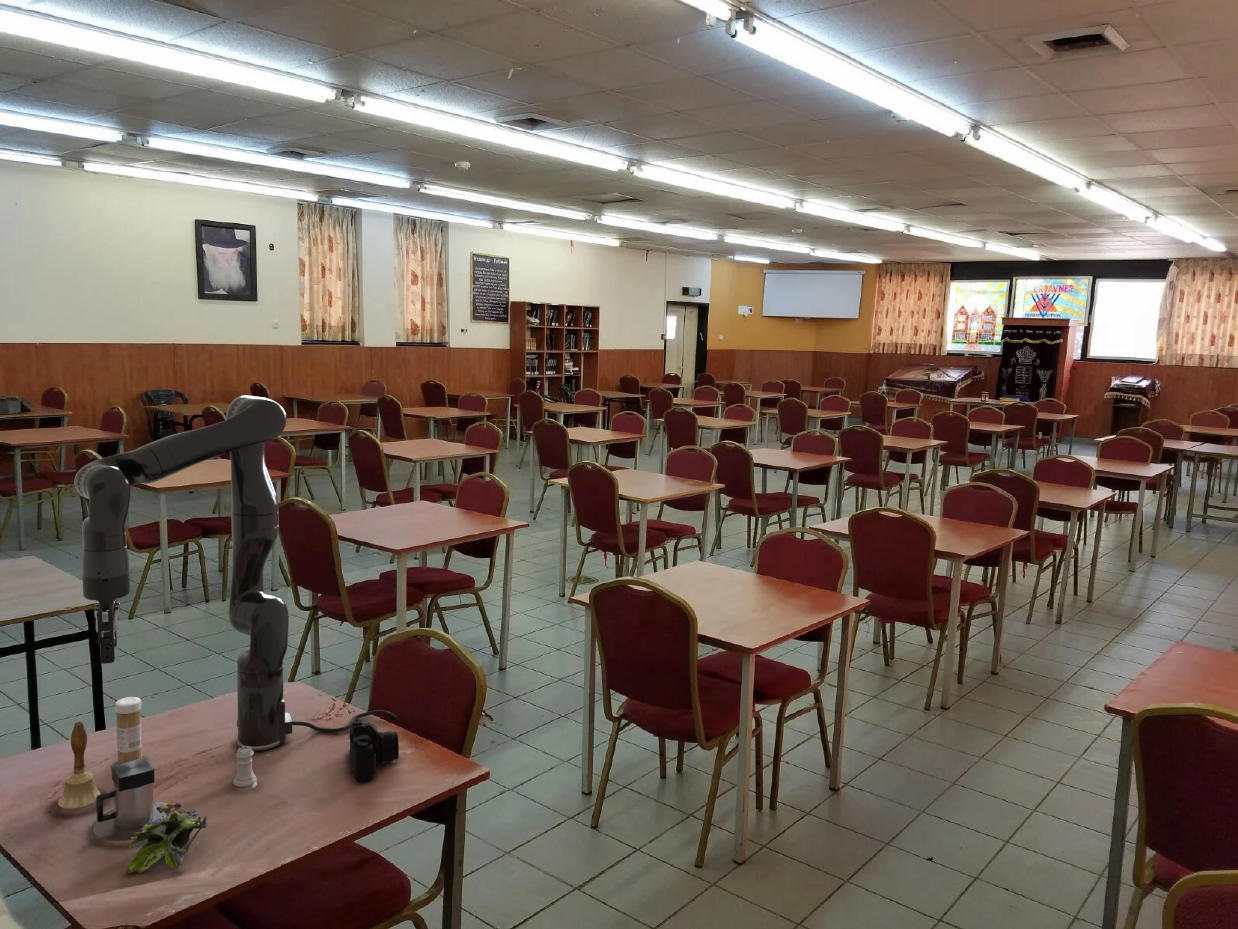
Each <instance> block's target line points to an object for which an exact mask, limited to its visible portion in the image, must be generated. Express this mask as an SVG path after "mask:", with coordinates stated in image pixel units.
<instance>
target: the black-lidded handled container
mask: <svg viewBox="0 0 1238 929" xmlns="http://www.w3.org/2000/svg"><path fill="white" fill-rule="evenodd" d="M111 780H112V781H113V783H112V785H113V786H112V791H108V792H105V793H101V795H98V796H97V797H96V801H95V802H96V820H97V821H98V822H103V821H106V820H110V819H113V818H114V825H115V826H116V827H117V828H119V829H125V830H128V829H135V828H139V827H142V826H144V825H146V824H147V823H148V822H149V821H151V820H153V819H152V818H154V803H153V802H154V783H155V782H156V781H155V768H154V767H153V766H152V764H151V763H150V761H149V759H148V758H147V757H142V759H138V760H134V761H130V762H126V763H122V764H118V763H117V764H114V765H111ZM112 798H113V809H114V812H113V813H110V814H106V815H103V814H104V800H107V799H112Z"/></svg>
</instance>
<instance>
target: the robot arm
mask: <svg viewBox="0 0 1238 929" xmlns="http://www.w3.org/2000/svg"><path fill="white" fill-rule="evenodd" d="M286 426H287V414H286V412H285V409H284V408H283V407H282V406H281V404H280V403H278V402H277V401H276V400H275V401H274V400H272V399H269V398H267V397H262V396H261V397H260V396H254V395H240V396H238V397H236V398H235V399H233V400H232V401H231V403H230V404H229V406H228V408H227V410H226V415H225V420H222V421H220V422H217V423H213V424H211V425H208V426H205V427H200V428H196V429H192V430H187V431H183V432H179V433H175V434H171V435H168V436H165V437H162V438H160V439H157V440H155V441H152V442H150V443H147V444H145V445H142V446H140V447H137V448H136V449H133V450H129V451H126V452H121V453H118V454H113V455H109V456H107V457H103V458H99V459H96V460H93V461H91V462H89V463H87V464H85V465H83V466H82V467H81V468H79V470H78V471H77V473H76V474H75V477H74V480H73V482H74V487H75V490H76V491H77V493H78V494H79V495H80V496H82V497H83V498H85V499H87V500H88V501H89V502H88V516H87V517H85V519H84V520H83V522H82V524H81V525H82V526H81V537H82V556H81V578H82V596H83V598H85V599H86V600H89V601H96V602H98V603H96V604H95V606H94V607H95V608H94V610H93V611H94V615H93V616H94V618H95V631H96V633H97V644H98V645H99V651H100V664H102V665H103V664H104V665H106V664H113V663H114V662H115V660H116V654H115V647H117V646H118V640H117V639H118V635H117V633H118V632H117V631H118V630H119V621H120V611H121V603H120V602H118V600H117V599H121V598H125V597H126V596H128V595H129V594H130V592H131V587H130V586H131V585H130V557H129V552H128V545H127V524H126V523H127V518H128V516H129V509H130V504H131V498H132V497H131V496H132V488H131V487H132V486H135V485H138V484H139V485H140V484H145V485H146V484H152V483H156V482H158V481H161V480H163V479H166V478H169V477H170V476H172V475H175V474H177V473H178V472H181V471H183V470H186V469H188V468H190V467H193V466H195V465H198V464H200V463H203V462H205V461H207V460H208V461H209V460H210V459H212V458H216V457H219V456H221V455H225V454H228V453H229V458H230V490H231V491H230V494H231V506H230V507H231V508H230V514H231V515H230V516H231V517H230V518H231V519H230V520H231V521H230V522H231V545H232V546H231V580H230V581H231V582H230V593H229V600H228V601H229V602H228V620H229V623H230V625H231V627H232V628H233V629H234V630H235V631H237V632H238V633H240V634H243V635H246V636H249V638H250V639H249V649H247V650H244V651H242V652H241V653H239V654H238V655H237V659H236V681H237V682H236V683H237V684H236V688H237V689H236V691H237V719H236V728H237V741H236V744H237V748H238V749H239V748H241V749H242V747H243V746H244V749H245V748H246V747H247V746H249V749H250V747H251V748H252V751H253V752H263V751H268V750H271V749H275V748H277V747H278V746H281V745H285V744H286V735H292V734H293V726H298V727H299V726H302V727H308V728H310V729H311V730H313V731H317V732H322V733H341V732H344V731H347V730H350V727H351V725H352V724H353V721H355V720H357V719H361V718H364V717H368V716H373V715H385V716H388V717H390V718H392V719H397V718H398V717H397V715H396V714H394V713H392V712H390V711H388V710H383V709H376V710H370V711H366V712H362V713H358V714H356V715H354V716H353V717H352V718H351V720H350V721H349V722H348V724H347V725H345V726H342V727H335V728H329V727H321V726H317V725H315V724H313V723H310V722H307V721H299V720H297V721H296V720H295V721H294V720H292V718H291V714H290V712H286V702H285V699H284V658H285V656H286V654H287V651H288V644H289V643H288V642H289V622H290V618H289V616H290V615H289V610H288V606H287V604H286V603H285V601H284V600H283V599H281V598H280V597H277V596H274V595H271V594H268V593H265V587H264V571H265V570H264V569H265V564H266V561H267V559H268V557H269V555H270V553H271V551H272V549H273V547H274V546H275V543H276V540H277V538H278V535H279V529H280V528H279V525H280V523H279V521H280V520H279V517H280V516H279V514H280V513H279V501H278V496H277V493H276V489H275V487H274V484H273V481H272V479H271V476H270V473H269V471H268V467H267V463H266V462H267V461H266V455H265V454H266V443H267V442H272V441H274V440H275V439H277V438H279V436H281V435H282V433H283V432H284V430H285V429H286Z"/></svg>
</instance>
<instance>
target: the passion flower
mask: <svg viewBox="0 0 1238 929" xmlns="http://www.w3.org/2000/svg"><path fill="white" fill-rule="evenodd" d="M166 804H167V805H166V806H159V807H157V808H156V809H157V810H158V811H159V813H165V814H166V816H167V817H164V816H162V818H160V817H159V818H156V819H154V818H152V819H154V820H151V821H149V822H148V823H147V825H145V826H143V827H144V828H142V830H143V831H142V833H140V832H139V833H138V832H136V833H134V834H135V836H137V837H131V839H132V841H131V843H130V844H129V846H128V851H131V850H132V849H133V848H135V846H138V845H139V844H141V843H144V842H145V841H146V843H144V844H143V845H142V846H141V847H140V848H139V850H138V851H137V852H135V854H134V856H133V857H132V859H130V861H129V862H128V865H127V868H126V873H128V874H132V873H134V872H136V873H143V872H145V871H147V870H148V869H150V868H151V867H152V866H153V865H155V864H156V863H157V862H159V860H161V859H162V858H163V857H164V861H165V862H166V864H167V866H168V867H171V868H173V869H174V870H177V869H178V867H180V866H182V863H183V860H184V858H185V856H186V854H187V853H188V851H189V848H190V845H191V844H192V843H193V841H194V840H195V838H196V837H197V836H198V834H199V833H200V831H201V830H202V829H205V828H207V827H208V823H207V816H206V815H205V816H204V817H203V819H201V818H202V817H201V816H198V815H199V814H198V813H196V812H197V810H192V809H190V810H188V811H187V812H186V810H184V811H182V810H179V809H180V808H182V805H183V804H182V802H177V803H166ZM173 811H174V812H173ZM195 829H197V831H196V832H195V833H194V835H193V836H192V838H191V839H190V836H191V834H192V832H193V831H194V830H195ZM184 843H187V844H186V845H185V846H184V847H182V848H181V847H179V845H182V844H184ZM176 861H177V862H178V864H177V862H176Z"/></svg>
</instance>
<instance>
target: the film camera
mask: <svg viewBox="0 0 1238 929" xmlns="http://www.w3.org/2000/svg"><path fill="white" fill-rule="evenodd" d="M348 734H349V735H348V736H349V737H348V738H349V750H348V751H349V752H348V753H349V758H350V763H351V766H352V767H351V768H352V772H353V775H354V778H355V781H356V782H358V783H367V782H370V781H372V780H373V778H374V777H373V776H374V775H375V774H376V772H377V769H376V768H377V764H384V763H391V762H393V761H396V760H399V757H400V756H399V755H400V744H399V743H400V742H399V734H398V732H397V731H392V730H388V731H378V727H377V725H375V724H374V723H372V722H363V721H362V720H360V718H358V719H356V720H355V721H353V724H352V725H351V727H350V728H349V732H348Z"/></svg>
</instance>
